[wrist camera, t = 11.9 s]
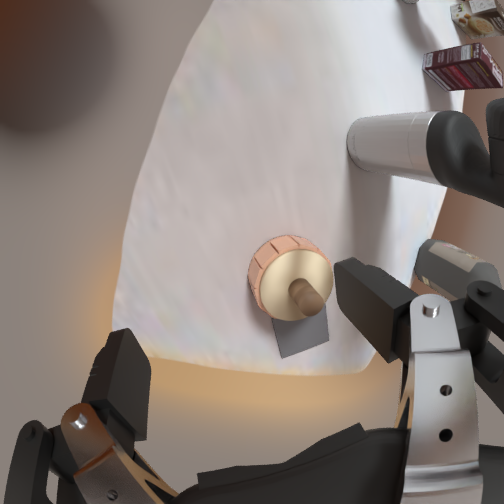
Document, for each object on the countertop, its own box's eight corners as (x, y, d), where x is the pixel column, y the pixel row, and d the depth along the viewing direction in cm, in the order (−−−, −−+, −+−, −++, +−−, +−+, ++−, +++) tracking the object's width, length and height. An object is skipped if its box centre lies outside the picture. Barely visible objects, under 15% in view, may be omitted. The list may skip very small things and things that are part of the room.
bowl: (313, 226, 42) (327, 235, 38) (322, 290, 47) (335, 303, 42) (239, 248, 41) (246, 260, 37) (257, 312, 46) (265, 329, 41)
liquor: (421, 237, 49) (538, 300, 21) (444, 239, 51) (548, 295, 23) (410, 277, 51) (513, 353, 24) (434, 276, 54) (528, 341, 26)
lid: (325, 239, 38) (346, 254, 32) (332, 302, 42) (351, 323, 36) (250, 262, 37) (262, 282, 31) (267, 325, 41) (279, 351, 35)
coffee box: (451, 19, 32) (496, 9, 17) (449, 5, 30) (492, -6, 15) (471, 40, 35) (515, 35, 20) (470, 25, 33) (511, 19, 18)
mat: (323, 299, 48) (324, 300, 47) (328, 339, 52) (329, 340, 51) (271, 318, 47) (272, 319, 46) (281, 357, 51) (282, 358, 50)
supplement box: (447, 75, 38) (503, 71, 23) (445, 92, 39) (503, 90, 24) (423, 52, 35) (480, 40, 20) (420, 68, 36) (481, 59, 22)
